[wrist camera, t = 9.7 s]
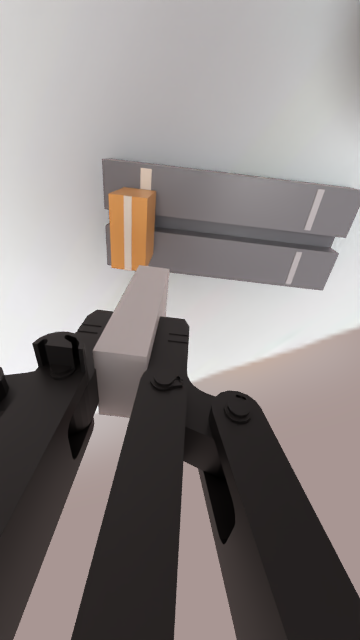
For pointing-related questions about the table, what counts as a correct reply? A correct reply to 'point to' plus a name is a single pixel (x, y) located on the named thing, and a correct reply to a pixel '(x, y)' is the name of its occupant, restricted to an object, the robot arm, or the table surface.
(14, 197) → the table surface
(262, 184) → the slider console
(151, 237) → the fader tab
